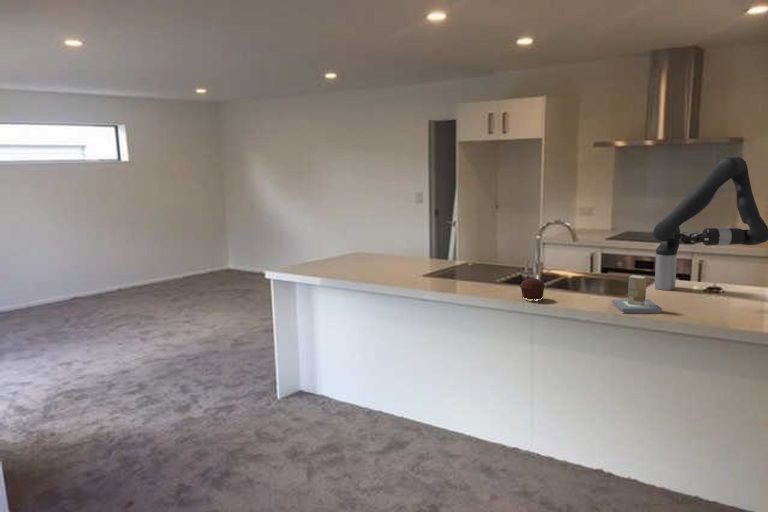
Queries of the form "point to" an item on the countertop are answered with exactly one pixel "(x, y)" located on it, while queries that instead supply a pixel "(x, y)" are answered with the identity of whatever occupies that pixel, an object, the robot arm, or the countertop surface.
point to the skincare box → (637, 290)
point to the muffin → (532, 288)
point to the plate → (637, 307)
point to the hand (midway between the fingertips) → (677, 237)
